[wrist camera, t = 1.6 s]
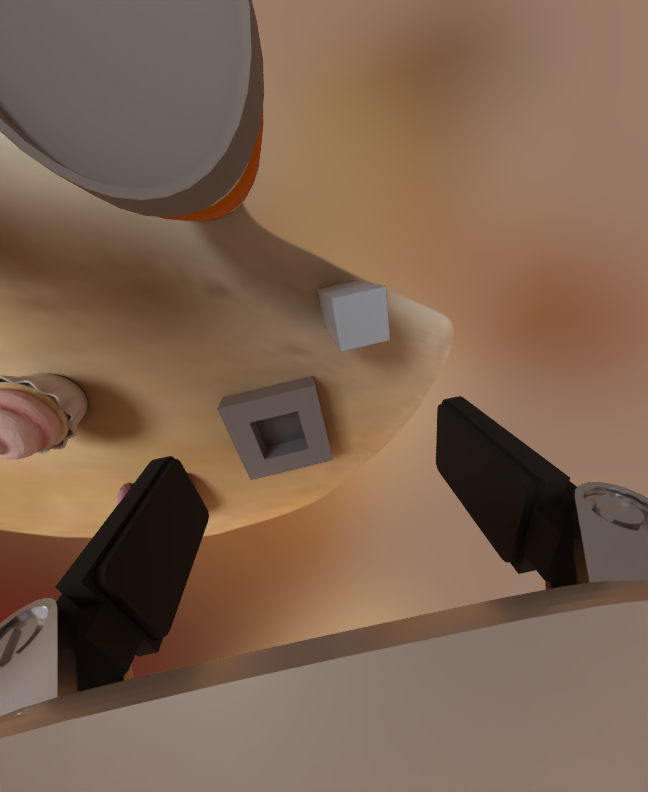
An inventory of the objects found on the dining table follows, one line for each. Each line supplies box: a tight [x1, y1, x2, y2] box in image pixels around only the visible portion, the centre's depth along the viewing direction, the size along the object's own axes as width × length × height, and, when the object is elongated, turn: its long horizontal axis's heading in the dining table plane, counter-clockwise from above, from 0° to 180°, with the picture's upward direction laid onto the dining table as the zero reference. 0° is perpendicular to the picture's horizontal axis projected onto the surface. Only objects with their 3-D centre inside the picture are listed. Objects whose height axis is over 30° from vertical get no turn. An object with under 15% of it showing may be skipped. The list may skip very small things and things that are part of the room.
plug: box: [318, 281, 390, 352], centre depth 25 cm, size 4×4×10 cm
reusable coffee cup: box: [0, 0, 264, 221], centre depth 16 cm, size 13×13×15 cm
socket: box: [218, 376, 333, 480], centre depth 35 cm, size 12×12×3 cm
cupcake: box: [0, 373, 88, 459], centre depth 26 cm, size 9×9×10 cm
